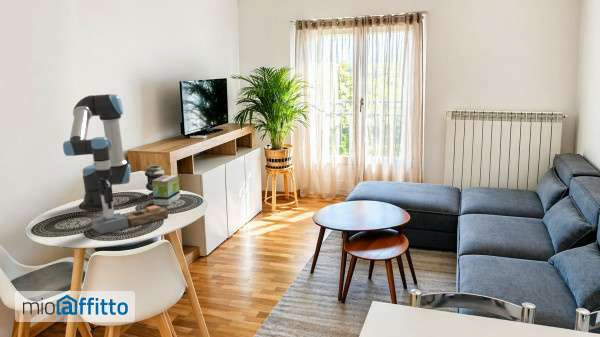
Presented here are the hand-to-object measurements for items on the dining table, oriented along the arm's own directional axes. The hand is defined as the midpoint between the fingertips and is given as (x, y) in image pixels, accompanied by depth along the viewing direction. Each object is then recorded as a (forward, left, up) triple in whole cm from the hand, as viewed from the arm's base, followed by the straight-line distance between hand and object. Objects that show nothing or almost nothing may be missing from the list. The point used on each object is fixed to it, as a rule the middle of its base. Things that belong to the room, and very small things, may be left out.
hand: (108, 213), depth 243 cm
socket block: (0, +18, -8) cm, 20 cm away
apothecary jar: (-43, +43, -8) cm, 62 cm away
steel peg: (0, 0, -6) cm, 6 cm away
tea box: (-23, +41, -8) cm, 48 cm away
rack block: (0, 0, -8) cm, 8 cm away
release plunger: (0, +23, -7) cm, 24 cm away
